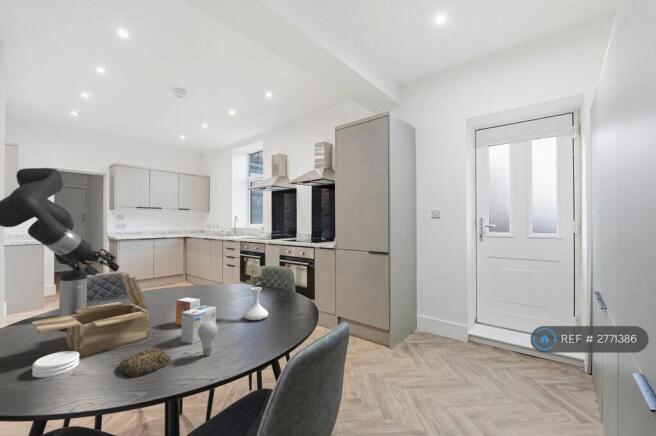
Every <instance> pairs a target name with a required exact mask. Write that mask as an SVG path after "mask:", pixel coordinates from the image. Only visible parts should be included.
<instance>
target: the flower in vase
mask: <svg viewBox="0 0 656 436" xmlns="http://www.w3.org/2000/svg"><path fill="white" fill-rule="evenodd" d="M245 271H246V273H247V274H248V275H249V276H250V277H251V280H250V279H247V280H246V281H245V282H244V284H247V285H252V286H253V287H251V288H250V290H251V292H252V295H253V304H252V305H251V306H250V307H249V308H248V309H246V310H245V311H244V312H243V314H242V317H243V319H245V320H249V321H258V320H262V319H263V320H264V319H265V318H267V317H268V316H269V312H268V310H267V309H266V308H265V307H263V306H262V305H261V304H260V301H259V300H260V299H259V298H260V293H261V290H262V289H263V288H262V287H260V286H257V285H259V284H261V281H258V282H257V283H255V284H254V282H253V278H257V277H258V278H259V277H261V276H262V273H263V270H262V268H261V267H260V265H257V263H249V264H247V265H245Z"/></svg>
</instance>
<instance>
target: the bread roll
mask: <svg viewBox="0 0 656 436" xmlns="http://www.w3.org/2000/svg"><path fill="white" fill-rule="evenodd" d="M170 358H171V357H170V356H169V355H168V353H166V352H165V351H163V350H161V349H150V348H149V349H145V350H142V351H140V352H137V353H134V354H132V355H129V356H126V357H125V358H124V359H123V360H122V361H121V362H120V363H119V370H120V372H122V373H123V374H124V375H126V376H128V377H131V378H137V377H142V376H145V375H148V374H151V373H153V372H156V371H158V370H160V369H162V368H164V367H166V366H168V365H169V364H170V362H171V359H170Z"/></svg>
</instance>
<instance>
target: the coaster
mask: <svg viewBox="0 0 656 436" xmlns="http://www.w3.org/2000/svg"><path fill="white" fill-rule="evenodd" d="M79 364H80V358H79V353H78V352H75V351H72V350H66V351H58V352H55V353H51V354H47V355H44V356H42V357H40V358H38V359H37V360H35V361H34V362H33V363H32V369H31V370H32V373H31V375H32V377H33V378H36V377H37V378H38V379H40V378H41V379H44V378H51V377H56V376H59V375H60V376H61V375H63V374H66V373H69V372H70V371H73V370H74V369H76V368H77V367H78V366H79Z"/></svg>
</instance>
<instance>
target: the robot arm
mask: <svg viewBox="0 0 656 436" xmlns="http://www.w3.org/2000/svg"><path fill="white" fill-rule="evenodd" d="M61 174H62V173H60V171H59V170H58V169H57V168H53V167H34V168H33V167H32V168H31V167H30V168H20V169H19V170H18V171H17V172H16V182H17V184H18V187H17V188H16V189H14V190H13V191H12V192H11V193H10V194H9V195H8V196H7V197H5V198H2V199H1V200H0V227H3V228H15V227H17V226H20V225H22V224H23V223H26V222H27V221H29V220H31V219H33V218H36V219H37V220H36V221H34V222H33V223H32V224H31V225H30V226H29V227H28V229H27V234H28V235H29V236H30V237H31V238H33V239H35V240H36V241H37V242H40V243H41V244H42V245H43V246H45V247H46V248H47V249H48V250H50V251H52V252H53V254H54V257H55V259H56V260H57V263H59V264H60V265H67V266H68V267H69V268H71V269H72V270H69V271H66V272H63V273H60V275H59V277H60V278H59V300H58V302H59V303H58V317H59V316H64V315H69V316H70V315H75V314H78V313H76V312H75V310H76V309H81V308H87V299H88V298H87V294H88V274H89V275H90V276H96V275H97V273H98V269H96V268H95V267H94V266H92V265H98V266H102V265H103V266H105V267H107V268H109V269H110V270H112V271H114V272H118V270H119V268H120V266H119V264H117V263H116V262H115V261H116V260H117V256H114V254H112V253H110V252H109V251H108V250H106V249H104V248H101V249H100V250H98V251H96V250H94V249H93V248H92V245H91V244H90V243H89V242H88V241H87V240H85V239H84V238H82V236H80V235H78V234H77V233H76V232H74V231H73V229H74V227H75V226H74V225H75V224H74V221H73V219H72V216H71V214H70V212H69V211H68V210H67V209H65V207H63V206H61V205H59V204H58V203H56V202H54V201H52V200H50V199H49V198H50V197H52V196H54V195H55V194H57V193H60V192H61V191H62V190H63V186H64V181H63V177H62V175H61ZM99 259H100V260H99Z"/></svg>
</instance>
